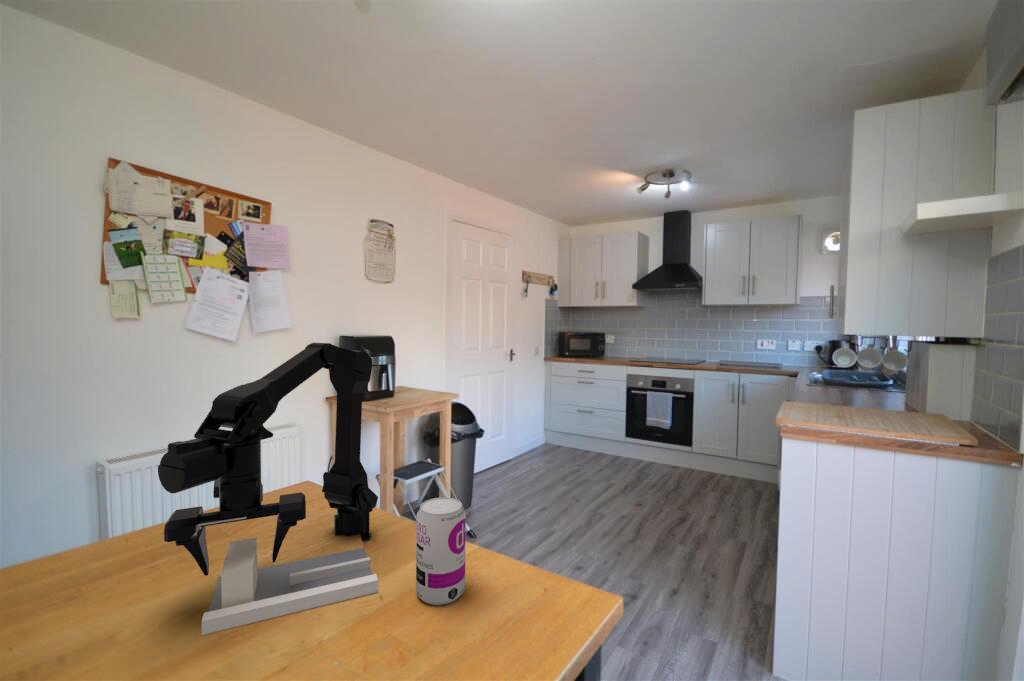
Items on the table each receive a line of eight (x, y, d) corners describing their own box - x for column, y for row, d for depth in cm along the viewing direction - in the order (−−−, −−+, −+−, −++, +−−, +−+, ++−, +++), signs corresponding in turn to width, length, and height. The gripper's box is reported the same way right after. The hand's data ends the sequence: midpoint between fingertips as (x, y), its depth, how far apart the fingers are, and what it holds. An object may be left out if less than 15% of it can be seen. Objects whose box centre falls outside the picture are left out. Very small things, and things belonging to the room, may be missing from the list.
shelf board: (364, 555, 87) (364, 537, 87) (378, 600, 73) (378, 580, 73) (218, 585, 77) (218, 565, 77) (201, 645, 62) (201, 621, 62)
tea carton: (257, 577, 77) (257, 537, 76) (252, 611, 68) (252, 565, 68) (229, 582, 75) (229, 542, 75) (221, 618, 66) (220, 572, 66)
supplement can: (473, 585, 78) (474, 501, 77) (447, 613, 70) (448, 519, 70) (434, 574, 81) (435, 493, 81) (405, 599, 74) (406, 509, 73)
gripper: (304, 451, 82) (304, 534, 83) (179, 464, 74) (181, 556, 74) (305, 469, 72) (306, 563, 73) (162, 486, 64) (164, 592, 64)
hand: (241, 567), depth 71 cm, fingers open, 9 cm apart
